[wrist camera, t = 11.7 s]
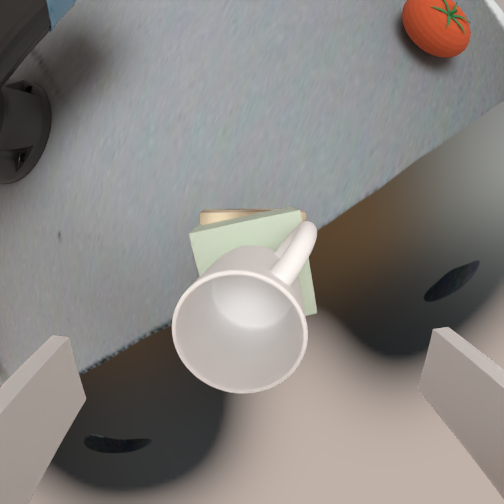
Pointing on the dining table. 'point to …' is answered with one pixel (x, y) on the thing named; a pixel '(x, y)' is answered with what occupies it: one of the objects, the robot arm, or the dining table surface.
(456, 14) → the tomato
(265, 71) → the dining table surface
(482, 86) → the dining table surface
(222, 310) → the mug
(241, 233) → the tower top
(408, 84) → the dining table surface
